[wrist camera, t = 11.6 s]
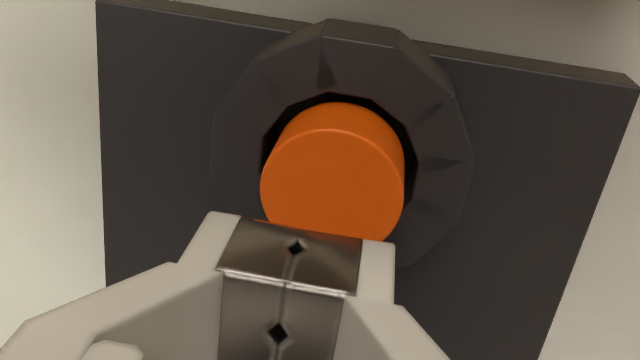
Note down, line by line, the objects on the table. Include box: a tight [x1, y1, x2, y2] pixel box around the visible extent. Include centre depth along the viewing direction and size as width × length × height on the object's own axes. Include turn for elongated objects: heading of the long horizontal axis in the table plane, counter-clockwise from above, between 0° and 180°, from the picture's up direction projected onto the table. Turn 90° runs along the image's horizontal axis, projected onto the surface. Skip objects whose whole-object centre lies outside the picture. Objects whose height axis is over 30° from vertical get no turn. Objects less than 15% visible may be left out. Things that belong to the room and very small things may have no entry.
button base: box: [95, 0, 640, 360], centre depth 17 cm, size 16×13×3 cm
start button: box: [260, 102, 405, 242], centre depth 13 cm, size 3×3×2 cm
